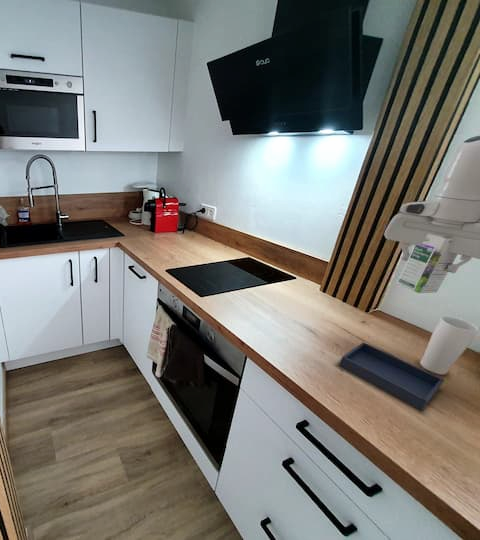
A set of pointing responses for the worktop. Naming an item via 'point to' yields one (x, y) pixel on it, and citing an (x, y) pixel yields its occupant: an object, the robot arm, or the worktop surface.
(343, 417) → the worktop surface
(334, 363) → the worktop surface
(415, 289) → the syrup box
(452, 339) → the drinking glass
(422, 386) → the tray
